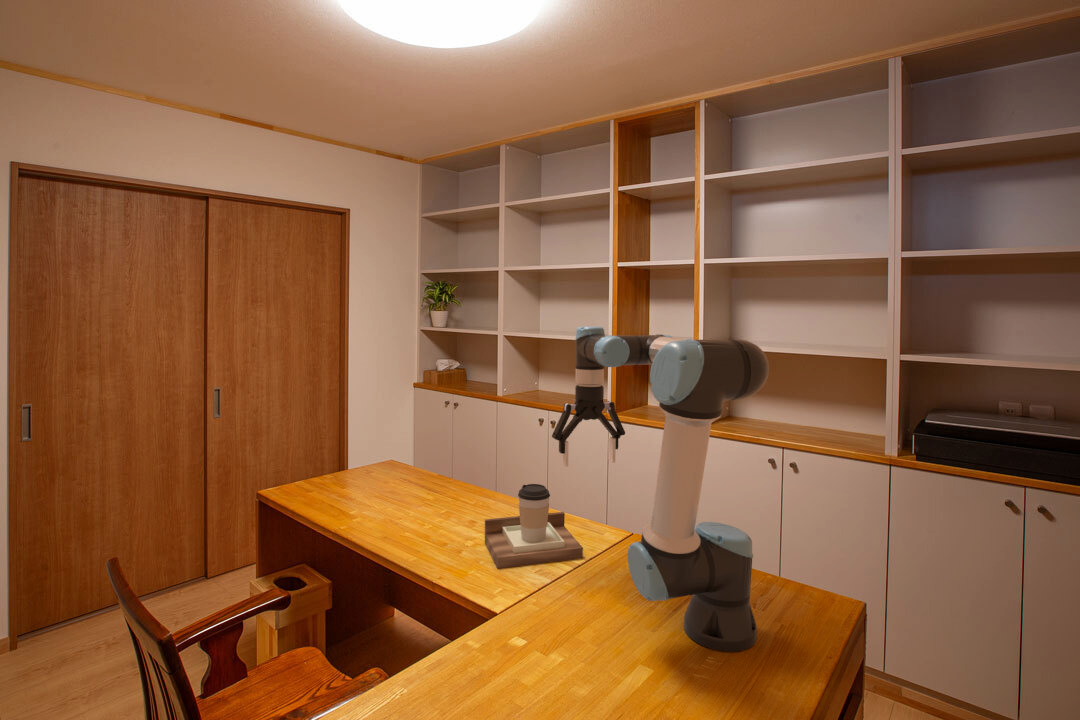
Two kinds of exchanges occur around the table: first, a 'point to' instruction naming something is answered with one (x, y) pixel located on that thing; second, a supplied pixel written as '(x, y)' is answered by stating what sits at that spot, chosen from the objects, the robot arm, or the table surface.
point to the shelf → (508, 558)
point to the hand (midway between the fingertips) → (588, 463)
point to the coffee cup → (533, 512)
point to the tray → (519, 545)
